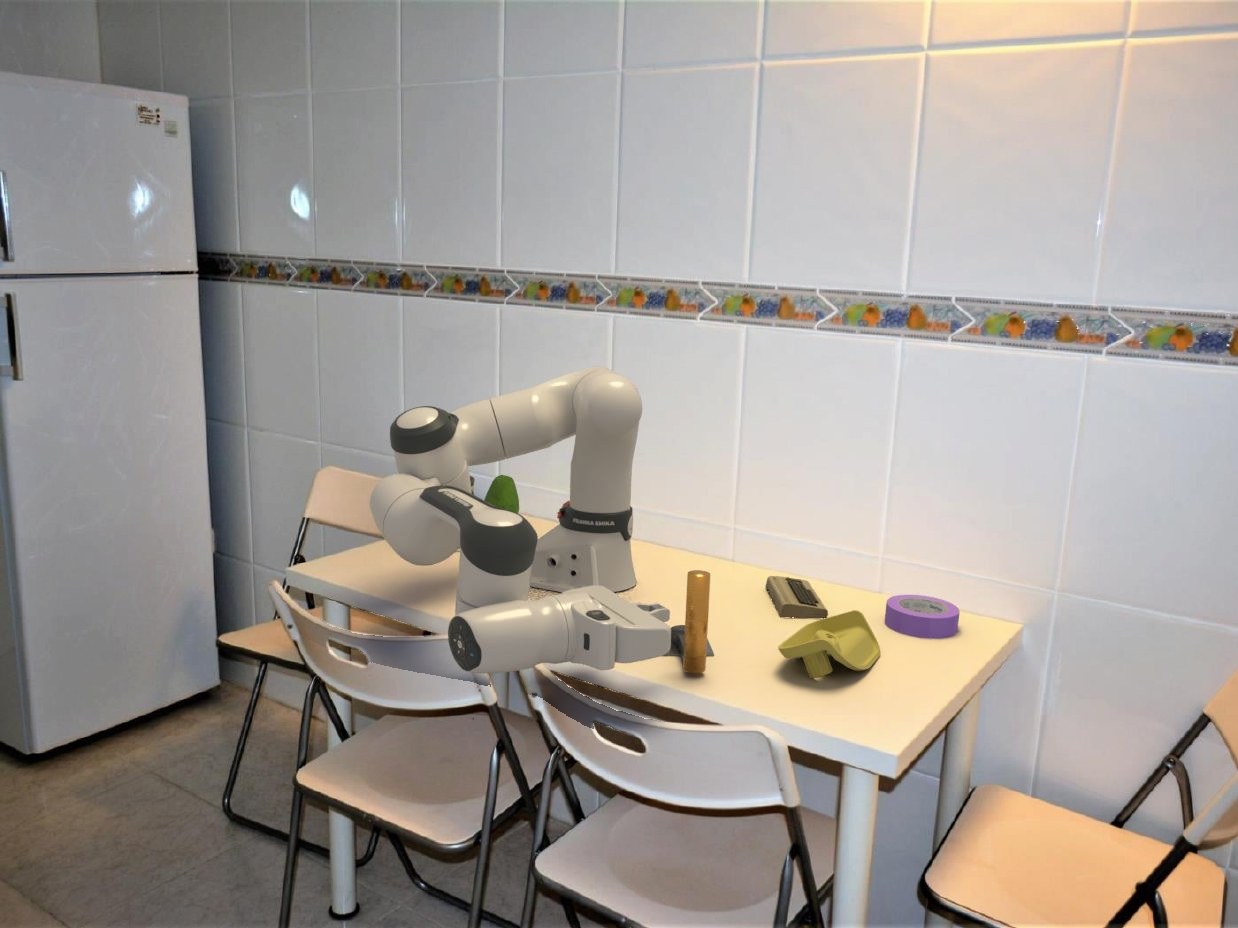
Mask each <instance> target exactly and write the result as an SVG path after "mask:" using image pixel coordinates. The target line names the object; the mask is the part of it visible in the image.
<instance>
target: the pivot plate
mask: <svg viewBox="0 0 1238 928" xmlns="http://www.w3.org/2000/svg"><path fill="white" fill-rule="evenodd" d="M663 656H664V657H668V656H669V657H679V656H680V657H682V656H681V653H680V650H679V647H678V645H674V644H672V643H671V647H670V650H669V651H668V652H667V653H666V654H665V655H663ZM663 656H662V657H663ZM714 656H715V653H714V651H713V648H712V646H711V644H710V641H709V638H707V650H706V657H714Z"/></svg>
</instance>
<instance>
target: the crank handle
mask: <svg viewBox="0 0 1238 928" xmlns="http://www.w3.org/2000/svg"><path fill="white" fill-rule="evenodd" d="M686 577H687V579H686V600H685V620H684V624H679V625H673V626H672V627H671V626H670V628H671V643H672V644H674V645H678V647H679V650H680V653H681V656H680V657H681V659H682V661H683V662H682V664H683V665H682V668H683V671H684V672H687V673H689V674H690V673H691V674H702V673H704V672H706V667H707V656H706V650H707V639H708V630H709V629H708V628H709V627H708V626H709V611H710V610H709V608H710V591H711V590H710V588H711V573H710V572H709V571H706V570H702V569H700V570H699V569H695V570H694V569H692V570H690V571H687V576H686Z"/></svg>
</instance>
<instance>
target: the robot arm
mask: <svg viewBox="0 0 1238 928" xmlns="http://www.w3.org/2000/svg"><path fill="white" fill-rule="evenodd" d="M642 401H643V400H642V397H641V394H640V392H639V390H638V388H637V386H636V385H635V384H634V383H633V381H631V380H630V379H629V378H627V377H625V376H624V375H622V374H620V373H618V372H616V371H613V370H612V369H609V368H608V367H604V366H591V367H586V368H583V369H579V370H577V371H574V372H571V373H568V374H564V375H562V376H558V377H556V378H553V379H550V380H548V381H546V382H542V383H540V384H538V385H535V386H531V387H527V388H524V389H520V390H516V391H512V392H508V393H505V394H502V395H501V394H500V395H498V396H496V395H495V396H493V397H490V398H486V399H483V400H479V401H476V402H473V403H471V404H466V405H464V406H462V407H459V408H457V409H455V410H453V411H451V412H448V411H447V410H444V409H442V408H439V407H435V406H431V405H422V406H418V407H413V408H409V409H408V410H406V411H405V410H404V411H403V412H402V413H400V414H399V415H398V416H397V417H396V418H395V420H394V421H393V422H392V423H391V424H390V427H389V441H390V447H391V449H392V450H393V453H394V454H393V455H394V459H395V465H396V469H397V473H393V474H390V475H387V476H385V477H383V478H382V479H380V481H378V482H377V484H376V485H375V486H374V487H373V489H372V492H371V494H370V498H369V509H370V513H371V516H372V518H373V522H374V523H375V526H376V527H377V529H378V531H379V533H380V534H381V535H382V537H383V538H384V540H385V542H386V543H388V545H389V547H390V548H392V550H393V551H394V552H395V553H396V555H398V556H399V557H400V558H401V559H403V560H404V561H406V562H408V563H410V564H412V565H415V566H420V567H421V566H422V567H423V566H426V567H427V566H433V565H438V564H440V563H442V562H444V561H446V560H448V559H449V558H450V557H452V556H453V555H454V554H455V553H457V552H456V551H457V549H458V548H459V547H460V552H459V562H458V573H457V575H458V576H457V577H458V578H457V588H456V599H455V608H454V609H455V613H454V614H455V615H454V616H453V617H452V618H451V620H450V622H449V624H448V629H447V630H448V631H447V638H448V639H447V640H448V645H449V649H450V652H451V654H452V657H453V659H454V661H455V662H456V664H457V665H458V666H459V667H460V668H461V669H462V670H463V671H465V672H467V673H470V674H488V675H489V674H500V673H501V674H502V673H511V672H518V671H524V670H528V669H531V668H534V667H535V666H537V665H541V664H553V665H555V664H556V665H557V664H563V663H571V664H578V665H579V664H580V665H583V666H584V665H585V666H588V667H591V668H592V669H593V668H594V669H596V670H600V671H608V670H613V669H614V668H615V663H618V664H632V663H638V662H642V661H648V660H652V659H657V658H659V657H663V655H665V654H666V653H667V652H668V651H669V650H670V647H671V626H670V625H669V624H667V623H666V622H669V620H670V616H671V615H670V614H671V611H670V609H668V608H667V607H665V606H663V605H661V604H660V603H658V602H654V603H642V602H641V603H640V602H630V601H629V600H628V599H625V598H623V597H622V596H621V595H619V594H617V592H621V591H626V590H629V589H631V588H633V587H634V586H635V585H637V583H638V581H637V578H636V573H635V570H634V562H633V555H632V545H631V538H632V536H633V529H634V528H633V527H634V515H633V513H634V511H633V506H632V505H631V501H632V500H631V499H632V497H631V496H632V471H633V461H634V457H635V456H634V455H635V450H636V445H637V439H638V433H639V426H640V421H641V418H642V413H643V402H642ZM572 437H574V439H575V440H574V444H573V445H574V446H573V453H572V457H571V461H570V473H569V474H570V475H569V477H570V478H569V480H570V482H569V500H567V501H566V502H564V503H562V506H561V508H559V510H558V512H557V513H556V514H557V516H556V517H557V519H558V522H559V524H557V525H556V526H555V527H553V528H551V529H550V530H549V531H547V532H546V533H545V534H543V535H542V536H540V537H539V536H538V533H537V531H536V529H535V528H534V526H533V525H532V524H531V523H530V521H528V520H527V519H526V518H525V517H524V516H523V515H521V514H520V513H519V512H518V513H516V512H513V511H509V510H506V509H502V508H498V507H496V506H494V505H492V504H490V503H488V502H486V501H484V500H485V499H482V498H481V497H478V496H477V495H475V493H473V491H472V490H471V482H470V476H471V475H470V472H469V471H470V470H469V467H471V466H480V465H485V464H486V465H487V464H491V463H496V462H500V461H505V460H508V459H511V458H515V457H519V456H520V457H521V456H523V455H526V454H527V455H528V454H530V453H533V452H537V451H541V450H545V449H549V448H551V447H552V446H554V445H555V444H556V445H557V443H560V442H562V441H564V440H567V439H570V438H572ZM538 537H539V538H538ZM531 588H537V589H542V590H548V591H554V592H557V593H558V592H559V593H560V594H559V593H558V594H551V595H546V596H543V597H541V598H539V599H537V600H531V598H530V589H531ZM615 592H616V593H615Z"/></svg>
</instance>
